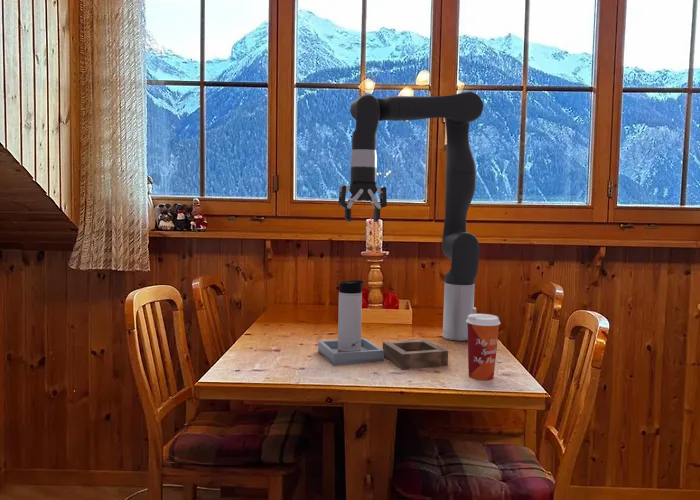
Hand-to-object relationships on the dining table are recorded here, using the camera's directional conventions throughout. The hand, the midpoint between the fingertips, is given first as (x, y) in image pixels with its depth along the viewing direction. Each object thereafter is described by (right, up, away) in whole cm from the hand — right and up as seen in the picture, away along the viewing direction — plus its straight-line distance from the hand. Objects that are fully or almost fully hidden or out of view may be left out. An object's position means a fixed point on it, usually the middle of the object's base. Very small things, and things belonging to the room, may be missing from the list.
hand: (362, 221), depth 175 cm
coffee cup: (+29, -40, -29) cm, 57 cm away
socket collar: (+14, -38, -16) cm, 43 cm away
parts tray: (-4, -37, -13) cm, 40 cm away
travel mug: (-4, -37, -12) cm, 39 cm away
